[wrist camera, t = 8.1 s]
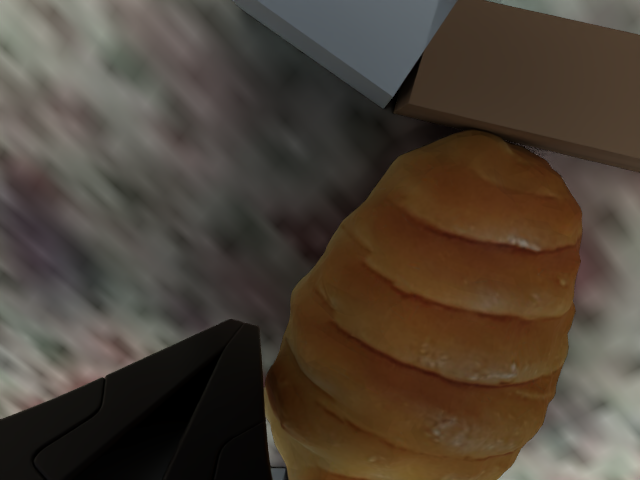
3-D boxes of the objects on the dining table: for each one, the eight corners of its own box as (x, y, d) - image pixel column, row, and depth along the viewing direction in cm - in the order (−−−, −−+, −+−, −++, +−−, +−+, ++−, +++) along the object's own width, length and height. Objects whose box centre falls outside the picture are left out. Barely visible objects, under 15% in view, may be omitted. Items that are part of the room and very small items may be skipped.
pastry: (352, 97, 8) (344, 71, 5) (623, 180, 8) (830, 219, 5) (265, 390, 11) (219, 512, 8) (460, 454, 11) (507, 609, 8)
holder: (668, 640, 12) (760, 794, 9) (176, 491, 13) (124, 591, 10) (1180, 138, 7) (1807, 144, 4) (249, -66, 7) (177, -190, 5)
